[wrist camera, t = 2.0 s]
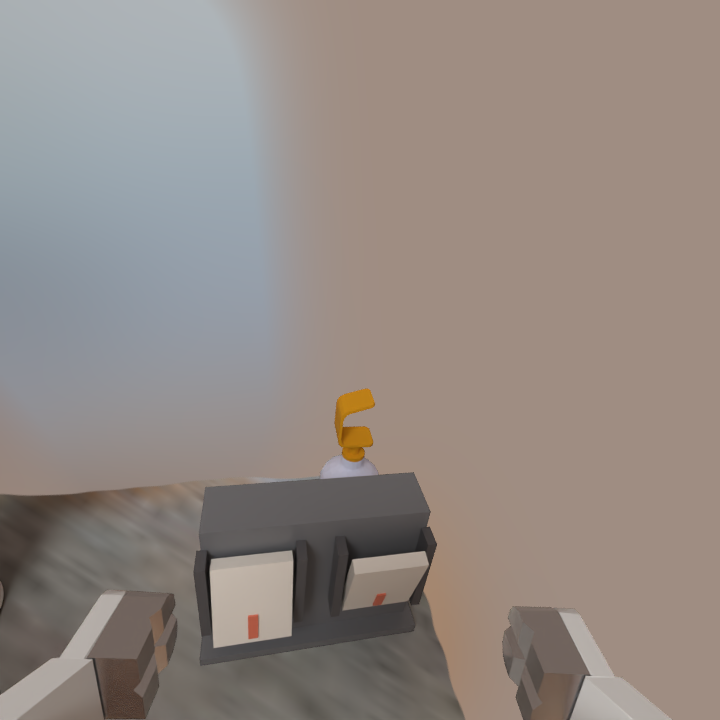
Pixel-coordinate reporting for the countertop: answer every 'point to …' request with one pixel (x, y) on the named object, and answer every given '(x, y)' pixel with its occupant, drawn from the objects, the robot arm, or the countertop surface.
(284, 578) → the block
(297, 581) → the power panel
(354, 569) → the block
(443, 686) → the countertop surface
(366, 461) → the soap bottle
